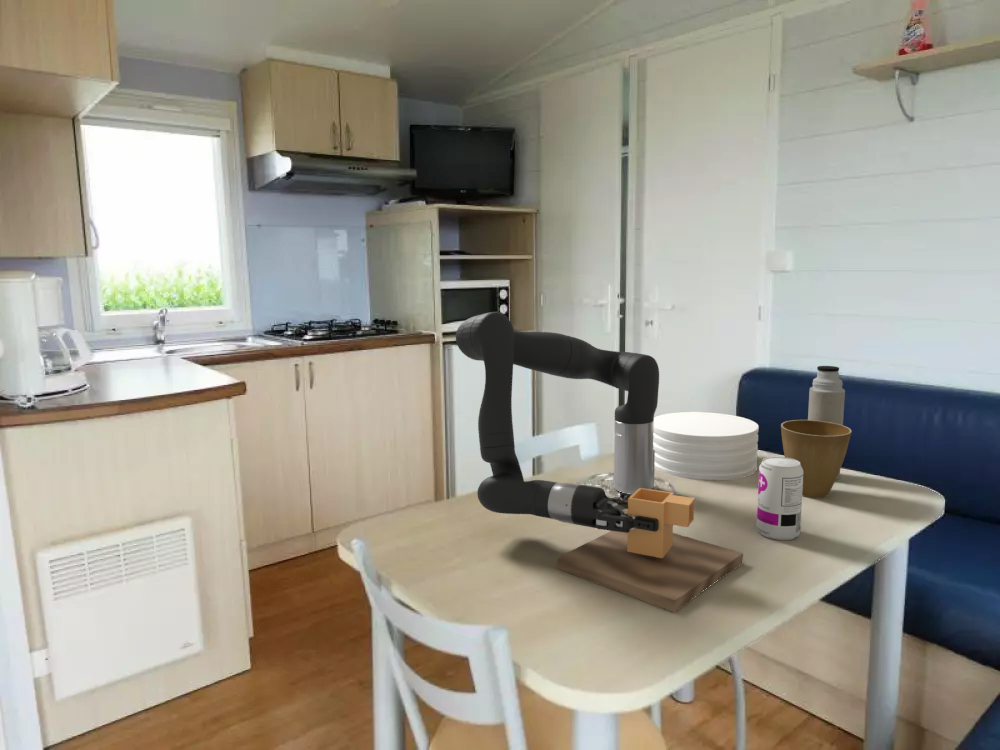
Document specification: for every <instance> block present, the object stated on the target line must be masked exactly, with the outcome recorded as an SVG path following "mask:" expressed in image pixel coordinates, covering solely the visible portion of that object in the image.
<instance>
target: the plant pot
mask: <svg viewBox="0 0 1000 750" xmlns="http://www.w3.org/2000/svg"><path fill="white" fill-rule="evenodd" d="M780 429H781V441H782V449H783V454H784V457H786V458H791V459H795V460H797V461H799V462H800V465H801V467H802V469H803V489H802V497H806V498H814V499H822V498H825V497H828V496H829V495H830V492H831V490H832V488H833V486H834V484H835V483H836V481H837V479H836V478H837V476H838V474H839V471H840V472H841V468H842V466H843V463H844V461H845V457H846V455H847V450H848V448H849V447H848V446H849V443H850V439H851V435H852V429H851V428H850V427H848V426H845V425H844V424H843V425H840V424H836V423H831V422H824V421H816V420H808V419H792V420H786V421H783V422H782V423H780Z"/></svg>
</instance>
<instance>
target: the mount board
mask: <svg viewBox="0 0 1000 750" xmlns="http://www.w3.org/2000/svg"><path fill="white" fill-rule="evenodd" d="M627 542H628V533H625V532H617V531H610V530H609V531H608V532H606V533H603V534H602V535H600V536H598V537H596V538H594V539H593V540H590V541H588V542H586V543H584V544H582V545H580V546H578V547H576V548H574V549H572V550H570V551H568V552H565V553H564V554H562V555H560V556H558V557H556V569H559V570H560V571H563V572H566V573H569V574H571V575H575V576H576V577H579V578H581V579H584V580H586V581H587V580H588V581H590V582H593V583H595V584H598V585H601V586H604V587H606V588H607V589H611V590H613V591H617V592H619V593H622V594H625V595H627V596H630V597H632V598H635V599H638V600H641V601H643V602H646V603H648V604H651V605H653V606H656V607H659V608H661V609H664V608H665V610H667V611H669V610H670V612H672V613H676V612H677V611H678V609H679V608H680V609H681V608H683V607H685V605H687V604H689V603H690V602H691V601H692V600H693V599H692V598H694V597H695V596H697V595H698V594H699V593H701V592H702V591H703V590H705V589H706V588H708V587H709V586H710V585H712V584H713V583H714V582H716V581H717V580H719V579H720V578H722V577H723V576H724V577H726V576H727V575H729V574H730V573H732V572H733V571H734V570H736V569H737V568H738V567H740V566H741V565H743V560H744V553H743V552H741V551H737V550H734V549H731V548H730V549H729V548H726V547H724V546H720V545H716V544H713V543H708V542H705V541H702V540H699V539H695V538H692V537H689V536H684V535H681V534H679V533H674V532H673V543H672V546H671V548H670V549H669V550H668V552H667V553H666V554H665V556H664V557H663V558H656V559H647V558H644V557H643V556H642V554H638V553H633V552H628V551H627ZM739 565H740V566H739ZM735 568H736V569H735ZM732 570H733V571H732ZM729 572H730V573H729ZM728 573H729V574H728ZM726 574H727V575H726ZM725 575H726V576H725ZM724 577H723V578H724ZM723 578H722V579H723ZM720 580H721V579H720ZM720 580H719V581H720ZM716 583H717V582H716ZM713 585H714V584H713ZM713 585H712V586H713ZM709 588H710V587H709ZM709 588H708V589H709ZM706 590H707V589H706ZM706 590H705V591H706ZM702 593H703V592H702ZM702 593H701V594H702ZM699 595H700V594H699ZM699 595H698V596H699ZM698 596H697V597H698ZM695 598H696V597H695ZM695 598H694V599H695ZM691 599H692V600H691ZM690 600H691V601H690ZM689 601H690V602H689ZM686 603H687V604H686ZM682 606H683V607H682ZM680 609H679V610H680ZM675 611H676V612H675Z"/></svg>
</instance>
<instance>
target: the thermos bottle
mask: <svg viewBox="0 0 1000 750" xmlns="http://www.w3.org/2000/svg"><path fill="white" fill-rule="evenodd" d="M816 370H817V374H816V375H817V376H816V377H815V378H813V379H812V386H811V387H809V392H808V393H809V395H808V409H807V410H808V413H807V415H808V416H807V420H816V421H824V422H831V423H836V424H840V425H843V426H844V412H845V396H846V390H845V389H844V388H843V385H844V383H843V380H842V379H841V378H840V373H839V371H840V367H839V366H834V365H818V366H817V368H816ZM840 476H841V470H840V471H839V474H838V476H837V478H836V480H839V479H840Z"/></svg>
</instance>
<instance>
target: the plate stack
mask: <svg viewBox="0 0 1000 750" xmlns="http://www.w3.org/2000/svg"><path fill="white" fill-rule="evenodd" d="M759 427H760V426H759V424H758V423H757V422H755V421H753V420H751V419H749V418H745V417H742V416H738V415H732V414H727V413H719V412H707V411H706V412H705V411H704V412H703V411H688V412H687V411H684V412H682V411H681V412H671V413H663V414H661V415H657V416H654V439H653V449H654V450H655V465H654V470H657V471H658V472H661V473H663V474H667V475H670V476H674V477H679V478H685V479H691V480H702V481H724V480H736V479H741V478H745V477H748V475H749V476H751V475H753V474H754V473H755V472H757V470H758V450H759V447H758V446H759V445H758V442H759V434H758V433H759V431H760V430H759V429H760V428H759ZM752 473H753V474H752ZM750 474H751V475H750ZM744 476H745V477H744Z"/></svg>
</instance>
